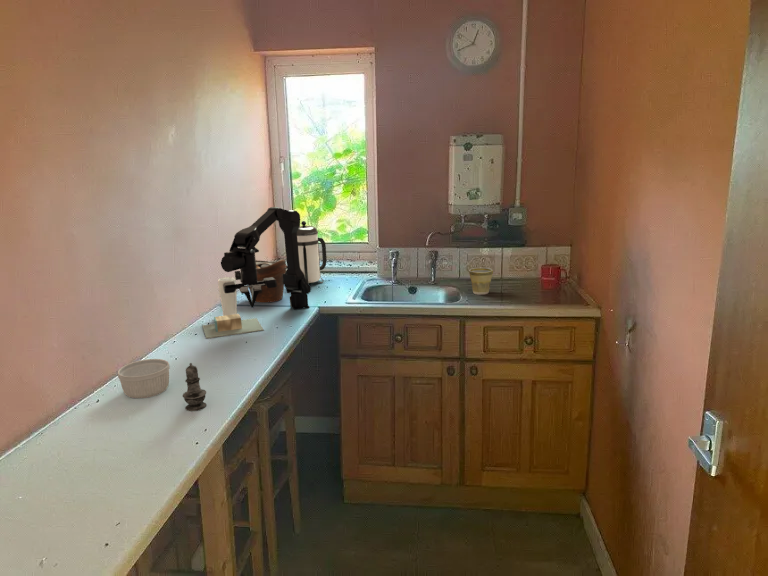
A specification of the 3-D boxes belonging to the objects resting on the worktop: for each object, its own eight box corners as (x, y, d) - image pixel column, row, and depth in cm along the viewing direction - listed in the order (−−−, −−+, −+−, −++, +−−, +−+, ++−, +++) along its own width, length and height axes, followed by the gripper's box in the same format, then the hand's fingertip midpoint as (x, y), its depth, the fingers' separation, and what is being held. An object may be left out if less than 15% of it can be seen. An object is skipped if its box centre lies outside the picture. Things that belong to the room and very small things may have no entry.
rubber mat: (256, 319, 228) (256, 318, 228) (263, 330, 213) (263, 329, 213) (202, 326, 221) (202, 325, 221) (206, 338, 207) (206, 337, 206)
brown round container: (241, 296, 263) (237, 257, 258) (286, 291, 269) (283, 253, 264) (245, 307, 246) (241, 265, 242) (293, 301, 252) (290, 260, 248)
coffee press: (324, 286, 276) (319, 222, 269) (289, 287, 276) (284, 223, 269) (327, 278, 293) (324, 217, 286) (295, 279, 293) (291, 218, 286)
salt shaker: (198, 400, 156) (192, 357, 153) (212, 404, 153) (207, 361, 150) (179, 408, 152) (173, 364, 149) (193, 413, 148) (188, 368, 145)
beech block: (238, 313, 220) (213, 317, 217) (240, 317, 214) (215, 321, 211) (239, 324, 221) (214, 327, 218) (241, 328, 215) (216, 332, 212)
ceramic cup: (482, 296, 247) (482, 273, 245) (464, 293, 255) (464, 270, 252) (501, 291, 256) (501, 268, 253) (483, 287, 263) (483, 265, 261)
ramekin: (135, 405, 155) (131, 380, 153) (112, 392, 163) (108, 369, 162) (181, 388, 164) (178, 365, 163) (157, 377, 173) (154, 355, 171)
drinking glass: (234, 319, 229) (231, 281, 226) (218, 318, 230) (214, 281, 227) (241, 313, 236) (238, 277, 232) (225, 313, 237) (222, 277, 233)
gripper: (269, 259, 225) (273, 299, 229) (219, 265, 219) (224, 305, 223) (275, 265, 215) (279, 306, 219) (222, 270, 209) (227, 313, 213)
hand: (252, 307), depth 218 cm, fingers closed
